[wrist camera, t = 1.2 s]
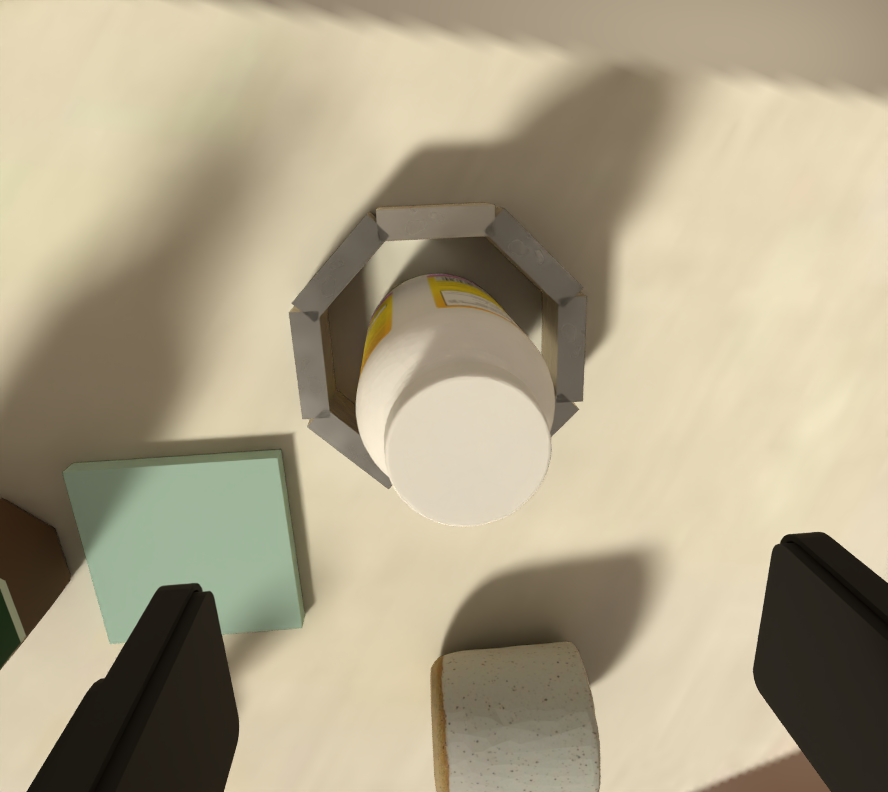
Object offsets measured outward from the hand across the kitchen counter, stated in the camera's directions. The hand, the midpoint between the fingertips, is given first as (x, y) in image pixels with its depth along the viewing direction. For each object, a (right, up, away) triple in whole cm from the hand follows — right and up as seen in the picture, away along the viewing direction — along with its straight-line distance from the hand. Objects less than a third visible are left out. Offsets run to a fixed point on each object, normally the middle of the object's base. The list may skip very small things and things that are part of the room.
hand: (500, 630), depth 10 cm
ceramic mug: (+3, -13, +26) cm, 29 cm away
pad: (-14, -4, +21) cm, 26 cm away
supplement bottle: (-1, +7, +19) cm, 20 cm away
